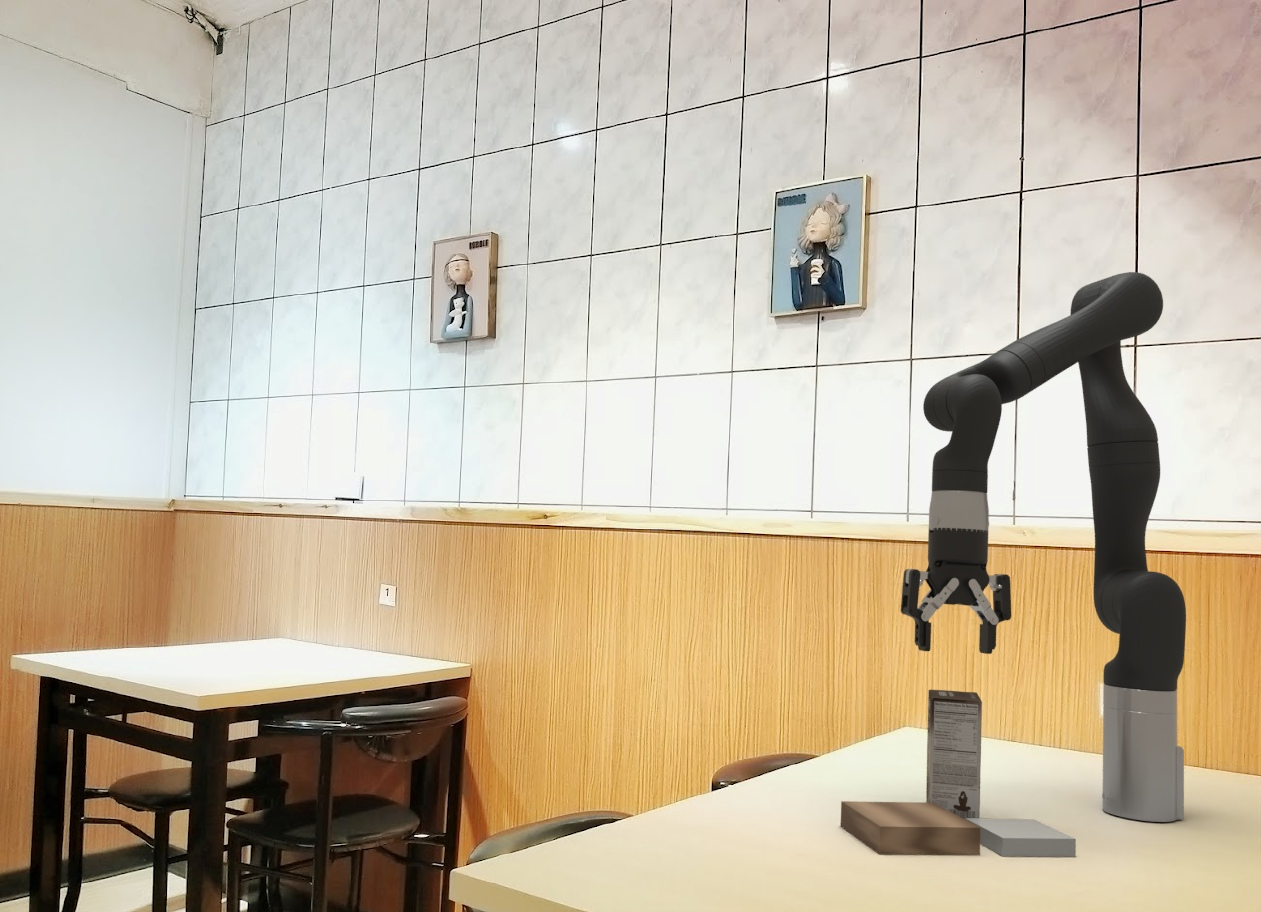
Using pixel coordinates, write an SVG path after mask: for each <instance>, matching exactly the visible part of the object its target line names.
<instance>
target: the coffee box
mask: <svg viewBox="0 0 1261 912" xmlns="http://www.w3.org/2000/svg"><path fill="white" fill-rule="evenodd" d="M927 700H928V703H927V704H928V707H927V739H926V740H927V743H926V745H927V746H926V791H925V792H926V795H925V796H926V797H925V798H926V799H925V801H926V802H925V803H935V804H937V805H938V806H940V807H942V808H944V809H946V810H948V811H950V812H952V813H954V814H955V815H957V816H959V817H961V818H963V819H965V818H981V817H980V815H981V814H980V813H981V812H980V809H981V808H980V807H981V806H980V805H981V766H982V765H981V762H982V761H981V759H982V758H981V757H982V727H983V726H982V725H983V724H982V723H983V722H982V718H983V701H982V699H981V697H980V696H979V694H978V693H977V692H976V691H974V692H973V691H959V690H947V689H946V690H945V689H944V690H943V689H928V699H927Z"/></svg>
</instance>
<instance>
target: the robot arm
mask: <svg viewBox="0 0 1261 912" xmlns="http://www.w3.org/2000/svg"><path fill="white" fill-rule="evenodd" d="M1070 305H1071V306H1070V315H1068V316H1066V317H1064V318H1062V319H1060V320H1057V321H1055V322H1053V323H1050V324H1048V325H1046V326H1044V327H1042V328H1039V329H1037V330H1035V331H1033V332H1030V333H1028V334H1026V335H1023V336H1022V337H1020V338H1018V339H1016V340H1014V341H1013V342H1011V343H1009V344H1008V345H1005V346H1004V347H1002V348H1000V349H999V350H997V351H996V352H994V353H993V354H991V355H989V357H987V358H986V359H984V360H981V361H980V362H977V363H976V364H973V365H971V366H968V367H966V368H964V369H962V370H959V371H956V372H955V373H952V374H951V375H949V376H947V377H944V378H943V379H942V378H941V380H939V381H938V382H936V383H935V384H933V385H932V386H931V388H930V389H929V390H928V391H927V393H926V395H925V397H924V401H923V406H922V407H923V408H922V409H923V410H922V411H923V414H924V417H925V420H926V421H927V422H928V423H929V425H931V426H932V427H933V428H934V429H937V430H939V431H942V432H949V433H950V432H951V435H950V439H949V442H948V443H947V445H945V446H944V447H942V448H941V449H939V450H938V451H936V452H935V453H934V456H933V459H932V472H931V474H932V475H931V480H932V481H931V496H930V503H929V507H928V508H929V509H928V511H929V512H928V533H927V535H928V536H927V537H928V538H927V539H928V540H927V562H928V563H927V564H928V565H927V568H926V570H925V571H924V570H919V569H917V568H916V569H915V568H907V569H905V570H904V571H903V579H902V588H901V589H902V590H901V599H900V600H901V602H900V613H901V614H902V615H904V616H908V617H910V618H912V619H913V621H914V644H915V646H917V648H918V650H919V651H921V652H922V651H923V652H930V651H931V647H932V646H931V643H932V640H931V639H932V622H931V621H930V620H931V618H932V617H933V616H934V614H935V613H936V612H937V610H939V609H941V607H942V606H943V605H948V606H949V605H950V606H951V605H952V606H953V605H954V606H955V605H959V606H969V607H970V608H971V610H973V611H974V612H975V614H976V615H977V617H978V618H979V620H980V622H981V623H980V624H979V637H978V638H979V639H978V641H979V642H978V646H979V648H978V649H979V653H980V654H986V655H988V654H989V655H992V653H993V650H996V647H997V626H998V624H999V623H1002V622H1004V621H1010V620H1011V619H1012V597H1011V596H1012V592H1011V576H1009V575H1008V574H1007V573H1005V574H1004V573H995V574H993V575H989V573H988V571H987V564H988V558H989V557H988V556H989V526H990V513H989V512H990V511H989V510H990V508H989V500H988V485H989V483H988V481H989V471H988V470H989V469H988V467H989V465H988V464H989V460H990V457H991V454H992V452H993V448H994V445H995V441H996V437H997V433H998V430H999V427H1000V421H1001V417H1002V409H1003V407H1002V405H1005V404H1009V403H1012V402H1016V401H1018V400H1020V399H1021V398H1023V397H1025V396H1026V395H1028V394H1029V393H1031V392H1033V391H1034V390H1036V389H1038V388H1039V387H1040V386H1042V385H1044V384H1045V383H1047V382H1048V381H1050V380H1052V379H1053V378H1054V377H1056V376H1058V375H1059V374H1060V373H1063V372H1064V371H1065V370H1067V369H1069V368H1071V367H1073V366H1074V365H1076V364H1077V363H1078V367H1079V368H1078V369H1079V372H1080V373H1079V374H1080V380H1081V388H1082V396H1083V397H1082V399H1083V407H1084V415H1085V416H1084V417H1085V425H1086V427H1085V428H1086V448H1087V462H1088V473H1089V480H1090V487H1091V488H1090V489H1091V503H1092V506H1091V507H1092V518H1093V519H1092V520H1093V529H1094V530H1093V531H1094V564H1093V566H1094V567H1093V604H1094V609H1095V612H1096V615H1097V617H1098V619H1099V621H1100V623H1102V625H1103V626H1104V627H1105V628H1106V629H1107V630H1109V631H1110V632H1112V633H1114V634H1117V635H1119V638H1118V649H1117V652H1116V655H1115V656H1114V658H1113V659H1111V660H1110V661H1108V662H1106V663H1105V665H1104V667H1103V687H1102V689H1103V690H1102V691H1103V692H1102V693H1103V694H1102V695H1103V697H1102V699H1103V700H1102V705H1103V706H1102V707H1103V711H1102V715H1103V717H1102V721H1103V723H1102V796H1101V797H1102V798H1101V799H1102V811H1104V812H1106V813H1108V814H1111V815H1114V816H1118V817H1122V818H1124V819H1125V818H1126V819H1130V820H1137V821H1143V822H1144V821H1145V822H1158V823H1160V822H1161V823H1170V822H1174V821H1178V820H1184V819H1185V767H1184V766H1185V752H1184V751H1185V750H1184V748H1183V747H1182V746H1180V745H1178V680H1179V677H1180V674H1181V672H1182V670H1183V667H1184V663H1185V649H1186V648H1185V647H1186V646H1185V645H1186V632H1187V631H1186V629H1187V608H1186V601H1185V597H1184V593H1183V591H1182V589H1181V587H1180V586H1179V584H1178V582H1176V580H1174V579H1173V578H1171V577H1170V576H1169V575H1167V574H1165V573H1162V572H1158V571H1151V570H1150V571H1149V570H1148V563H1147V562H1148V561H1147V553H1146V551H1147V550H1146V531H1147V526H1148V521H1149V519H1150V518H1149V517H1150V515H1151V512H1152V509H1153V506H1154V503H1155V500H1156V497H1157V494H1158V488H1159V485H1160V479H1161V462H1160V461H1161V459H1160V449H1159V448H1160V447H1159V437H1158V432H1157V427H1156V425H1155V423H1154V421H1153V419H1152V417H1151V416H1150V414H1149V413H1148V411H1147V409H1146V407H1144V404H1143V403H1142V402H1141V401H1140V400H1139V398H1138V396H1137V395H1136V394H1135V392H1134V391H1133V389H1132V388H1131V386H1130V384H1129V382H1128V381H1127V380H1128V379H1127V378H1126V375H1125V369H1124V366H1123V357H1122V347H1121V346H1122V342H1121V341H1124V340H1127V339H1128V340H1129V339H1131V338H1134V337H1135V338H1136V337H1138V336H1141V335H1143V334H1145V333H1146V332H1148V331H1150V330H1151V329H1152V328H1154V326H1155V325H1157V323H1158V321H1159V320H1160V319H1161V316H1162V314H1163V309H1164V299H1163V293H1162V290H1161V289H1160V287H1159V285H1158V284H1157V282H1156V281H1155V279H1153V278H1152V277H1150V276H1149V275H1147V274H1145V273H1142V272H1138V271H1133V272H1132V271H1130V272H1123V273H1117V274H1114V275H1112V276H1108V277H1105V278H1102V279H1099V280H1097V281H1094V282H1091V283H1089V284H1085V285H1084V286H1082V287H1080V288H1079V289H1078V290H1077V291H1076V292H1075V294H1074V296H1073V298H1072V301H1071V304H1070ZM924 581H925V582H926V584H927V585H928V587H929V591H928V592H927V593H926V595H925V596H924V597H923V598H922V600H921V603H920V604H919V594H920V587H922V585H923V584H924ZM988 585H989V589H990V590H991V591H992V604H993V608H992V604H991V602H990V601H989V599H988V598H987V596H986V594H985V593H984V591H985V590H986V588H987V587H988ZM918 604H919V605H918Z"/></svg>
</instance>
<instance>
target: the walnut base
mask: <svg viewBox="0 0 1261 912" xmlns="http://www.w3.org/2000/svg"><path fill="white" fill-rule="evenodd" d="M840 803H841V805H840V827H841V828H842V829H844V831H846V832H848V833H849V834H850V835H852V836H854V838H856V839H857V840H859V841H861V842H862V843H863V844H865V845H866V846H867V847H869V848H870V849H871V850H873V851H874V852H876V853H877V854H878V855H929V856H930V855H931V856H932V855H936V856H938V855H941V856H942V855H943V856H945V855H947V856H949V855H950V856H953V855H954V856H956V855H957V856H958V855H959V856H962V855H963V856H966V855H967V856H981V844H980V827H978V826H976V825H974V824H973V823H971V822H969V821H967V820H965V819H963V818H961V817H959V816H957V815H955V814H954V813H952V812H950V811H948V810H946V809H944V808H942V807H940V806H938V805H937V804H935V803H926V802H912V801H911V802H909V801H908V802H906V801H856V800H855V801H854V800H853V801H849V800H848V801H847V800H846V801H845V800H843V801H842V800H841V802H840Z"/></svg>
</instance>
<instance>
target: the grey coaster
mask: <svg viewBox="0 0 1261 912" xmlns="http://www.w3.org/2000/svg"><path fill="white" fill-rule="evenodd" d="M965 820H967V821H969V822H971V823H973V824H974V825H976V826H978V827H980V845H982V846H983V847H985V848H987V849H988V850H991V851H993V852H995V853H996V854H998V855H1000V856H1002V857H1038V858H1039V857H1047V858H1048V857H1051V858H1053V857H1059V858H1062V857H1063V858H1065V857H1066V858H1068V857H1069V858H1072V857H1073V858H1074V857H1075V858H1076V856H1077V855H1076V852H1077V850H1076V849H1077V847H1076V846H1077V845H1076V844H1077V839H1076V838H1075V837H1073V836H1071V835H1068V834H1066V833H1064V832H1063V831H1060V830H1058V829H1056V828H1054V827H1052V826H1049V825H1047V824H1045V823H1043V822H1041V821H1039V820H1036V819H1034V818H986V817H985V818H981V817H979V818H965Z"/></svg>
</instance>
